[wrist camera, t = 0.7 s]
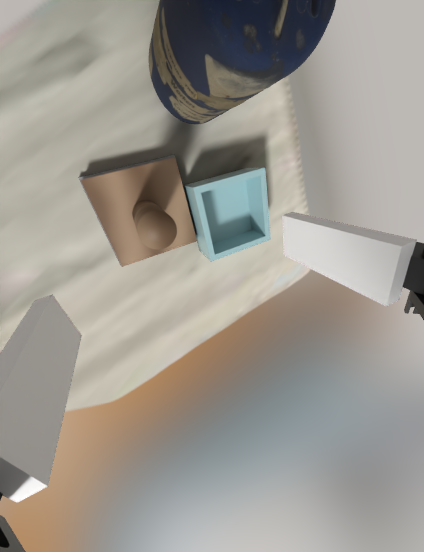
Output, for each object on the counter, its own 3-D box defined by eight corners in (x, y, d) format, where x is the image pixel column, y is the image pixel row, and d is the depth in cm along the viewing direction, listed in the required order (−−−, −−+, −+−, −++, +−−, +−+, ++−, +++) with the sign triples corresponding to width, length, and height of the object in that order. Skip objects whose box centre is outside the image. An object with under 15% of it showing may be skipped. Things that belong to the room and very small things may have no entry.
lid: (121, 262, 30) (123, 299, 21) (82, 179, 25) (62, 183, 16) (194, 238, 33) (221, 262, 24) (172, 157, 27) (198, 150, 18)
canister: (143, 112, 25) (182, 17, 10) (150, -2, 21) (225, -419, 6) (218, 136, 29) (328, 95, 14) (233, 43, 25) (404, -148, 10)
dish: (199, 250, 35) (210, 261, 30) (182, 185, 30) (193, 187, 25) (253, 231, 37) (270, 239, 33) (245, 168, 32) (265, 167, 28)
